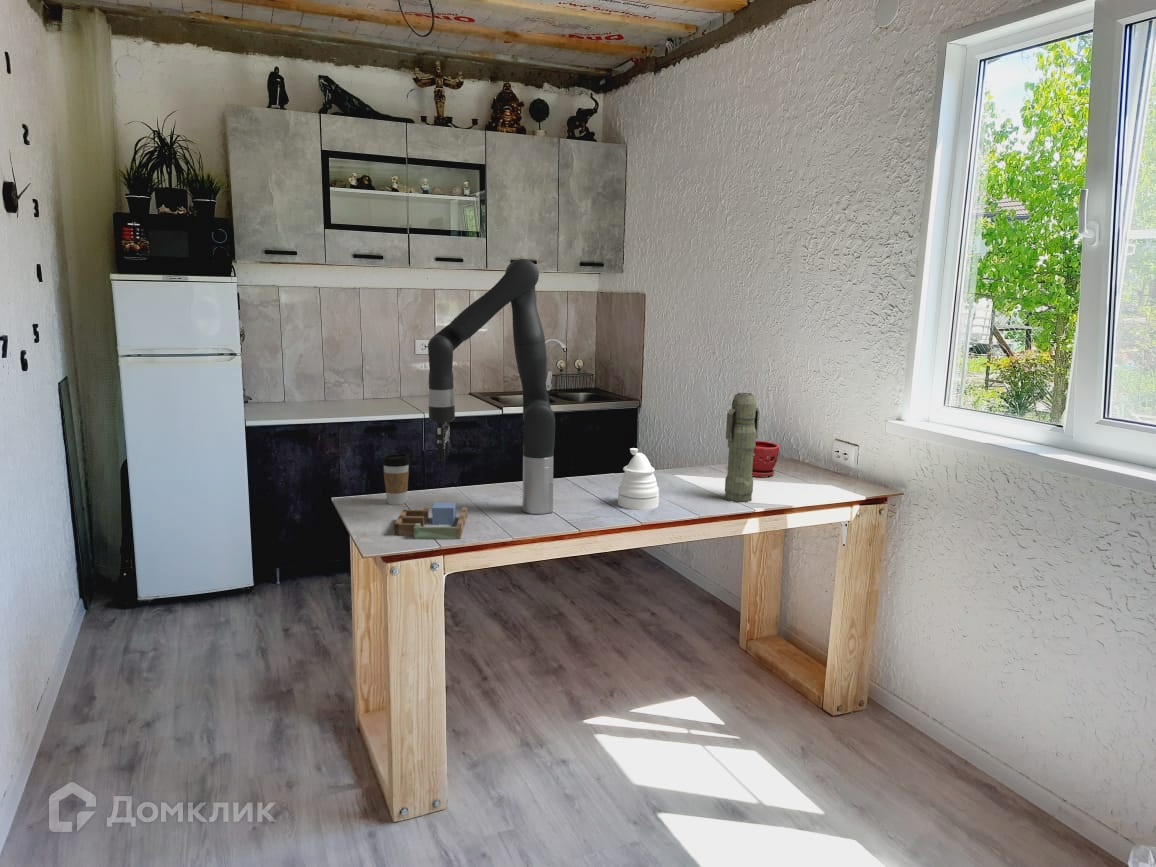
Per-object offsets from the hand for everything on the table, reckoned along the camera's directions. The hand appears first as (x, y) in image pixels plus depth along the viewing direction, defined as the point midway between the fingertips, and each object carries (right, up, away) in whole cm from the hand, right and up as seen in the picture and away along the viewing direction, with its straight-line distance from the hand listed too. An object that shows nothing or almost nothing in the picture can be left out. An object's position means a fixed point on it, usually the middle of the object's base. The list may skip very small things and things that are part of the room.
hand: (442, 458), depth 231 cm
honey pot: (+59, -15, +18) cm, 64 cm away
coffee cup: (-17, -14, +14) cm, 26 cm away
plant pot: (+108, -8, +62) cm, 125 cm away
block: (+1, -18, -5) cm, 19 cm away
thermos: (+93, -14, +27) cm, 98 cm away
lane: (-1, -19, -11) cm, 22 cm away
